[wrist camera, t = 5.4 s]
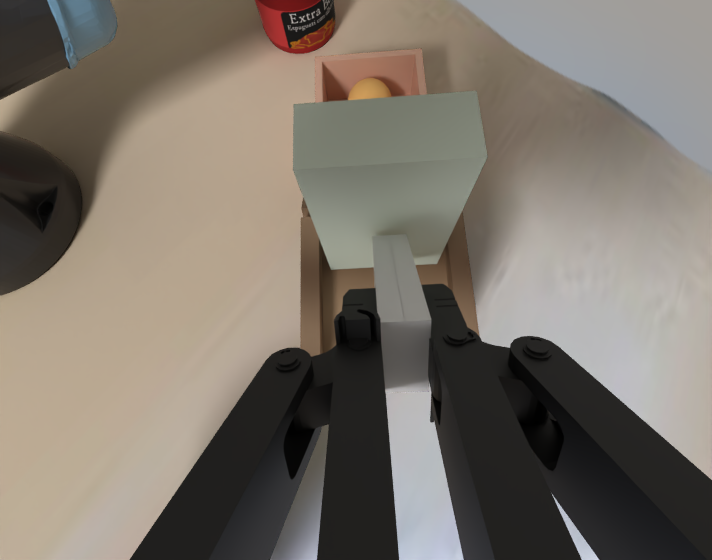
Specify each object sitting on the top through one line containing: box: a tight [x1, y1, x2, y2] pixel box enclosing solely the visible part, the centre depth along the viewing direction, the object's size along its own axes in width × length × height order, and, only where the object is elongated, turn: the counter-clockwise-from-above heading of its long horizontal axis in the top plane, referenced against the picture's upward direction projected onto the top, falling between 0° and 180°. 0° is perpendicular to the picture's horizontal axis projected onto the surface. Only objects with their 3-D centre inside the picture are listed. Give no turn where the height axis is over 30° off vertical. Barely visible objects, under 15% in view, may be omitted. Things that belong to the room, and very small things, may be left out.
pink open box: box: [315, 48, 427, 103], centre depth 33 cm, size 10×9×5 cm
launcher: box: [301, 197, 479, 357], centre depth 26 cm, size 16×9×11 cm, turn 2°
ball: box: [348, 78, 392, 100], centre depth 33 cm, size 4×4×4 cm
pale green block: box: [293, 91, 488, 270], centre depth 17 cm, size 2×6×10 cm, turn 92°
